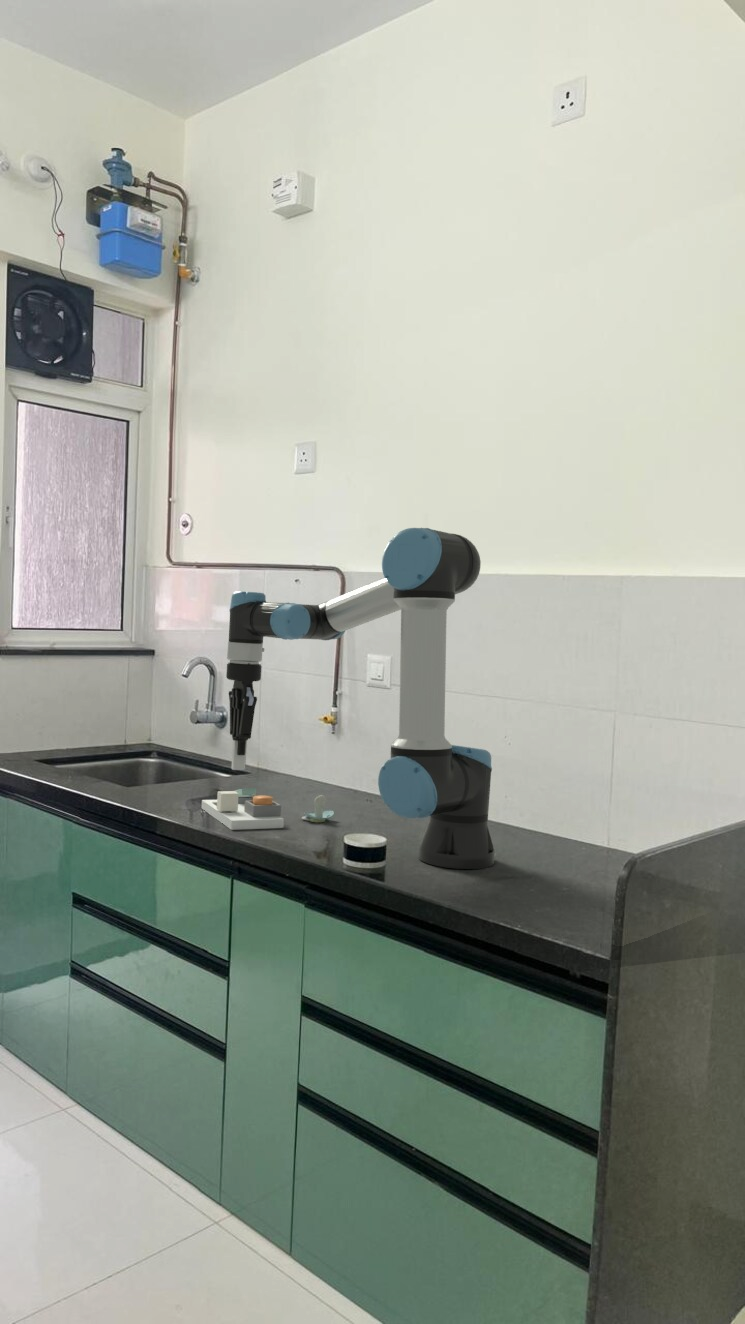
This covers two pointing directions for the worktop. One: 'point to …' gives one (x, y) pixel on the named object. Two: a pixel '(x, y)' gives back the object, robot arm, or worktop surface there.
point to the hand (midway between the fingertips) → (238, 769)
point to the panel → (247, 814)
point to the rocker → (246, 792)
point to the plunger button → (262, 800)
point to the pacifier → (318, 811)
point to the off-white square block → (227, 801)
